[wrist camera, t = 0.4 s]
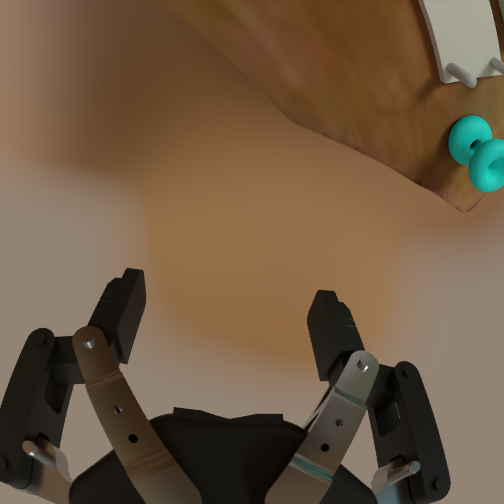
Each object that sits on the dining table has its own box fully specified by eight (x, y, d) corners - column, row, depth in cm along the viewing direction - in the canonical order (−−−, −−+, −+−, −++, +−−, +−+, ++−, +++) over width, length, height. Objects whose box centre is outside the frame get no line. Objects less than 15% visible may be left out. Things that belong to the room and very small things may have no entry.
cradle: (384, -67, 10) (408, -74, 6) (458, -63, 5) (486, -62, 1) (440, 80, 27) (464, 98, 23) (496, 71, 22) (521, 88, 18)
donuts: (524, 148, 23) (506, 195, 30) (490, 114, 29) (479, 158, 36) (484, 144, 24) (467, 197, 32) (449, 110, 30) (441, 158, 38)
